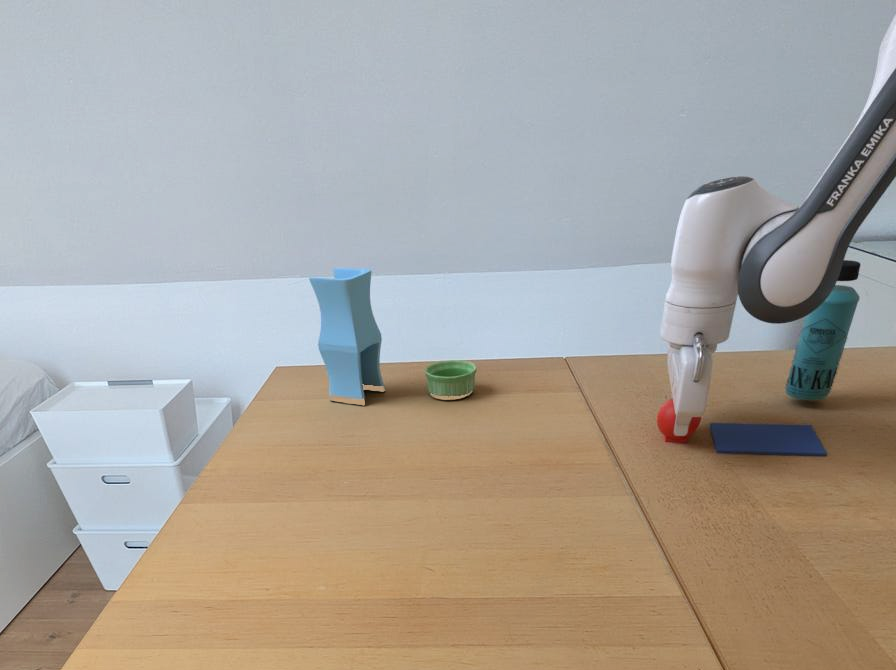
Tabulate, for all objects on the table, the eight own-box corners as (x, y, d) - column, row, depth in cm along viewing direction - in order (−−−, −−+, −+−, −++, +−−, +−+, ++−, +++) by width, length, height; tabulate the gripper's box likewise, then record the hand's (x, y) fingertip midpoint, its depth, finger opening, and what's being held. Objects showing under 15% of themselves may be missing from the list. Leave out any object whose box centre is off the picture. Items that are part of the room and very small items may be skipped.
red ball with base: (695, 430, 104) (704, 385, 100) (698, 447, 100) (707, 400, 96) (653, 429, 106) (660, 384, 101) (654, 445, 101) (662, 399, 97)
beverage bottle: (779, 394, 113) (815, 256, 101) (825, 396, 111) (867, 256, 99) (783, 409, 108) (821, 266, 96) (830, 411, 107) (876, 266, 94)
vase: (350, 386, 130) (335, 267, 117) (386, 391, 126) (375, 269, 114) (326, 401, 124) (308, 278, 112) (363, 406, 121) (349, 280, 109)
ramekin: (469, 382, 127) (468, 357, 125) (483, 398, 120) (482, 372, 118) (421, 388, 126) (419, 363, 124) (432, 405, 119) (431, 379, 117)
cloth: (810, 427, 102) (811, 424, 102) (825, 456, 95) (826, 453, 95) (709, 425, 105) (710, 422, 105) (716, 453, 98) (717, 450, 98)
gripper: (730, 347, 84) (707, 454, 93) (713, 303, 100) (695, 399, 108) (676, 346, 86) (658, 453, 94) (667, 303, 101) (652, 398, 110)
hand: (678, 423), depth 101 cm, fingers closed on red ball with base, 6 cm apart
